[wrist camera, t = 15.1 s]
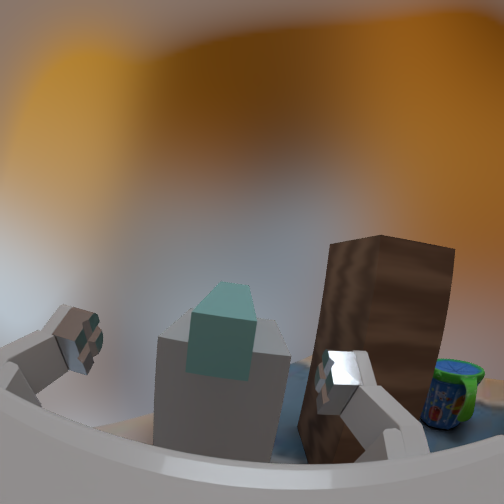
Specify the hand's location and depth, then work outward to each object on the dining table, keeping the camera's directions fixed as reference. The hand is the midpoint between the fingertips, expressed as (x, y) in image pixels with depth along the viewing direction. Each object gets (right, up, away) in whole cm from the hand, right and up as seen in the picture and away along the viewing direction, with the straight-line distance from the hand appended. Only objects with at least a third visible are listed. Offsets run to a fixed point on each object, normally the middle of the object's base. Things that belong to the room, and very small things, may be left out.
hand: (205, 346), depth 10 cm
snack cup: (+33, -25, +28) cm, 50 cm away
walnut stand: (+12, -22, +20) cm, 32 cm away
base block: (-3, -20, +18) cm, 27 cm away
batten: (-1, -4, +17) cm, 17 cm away
